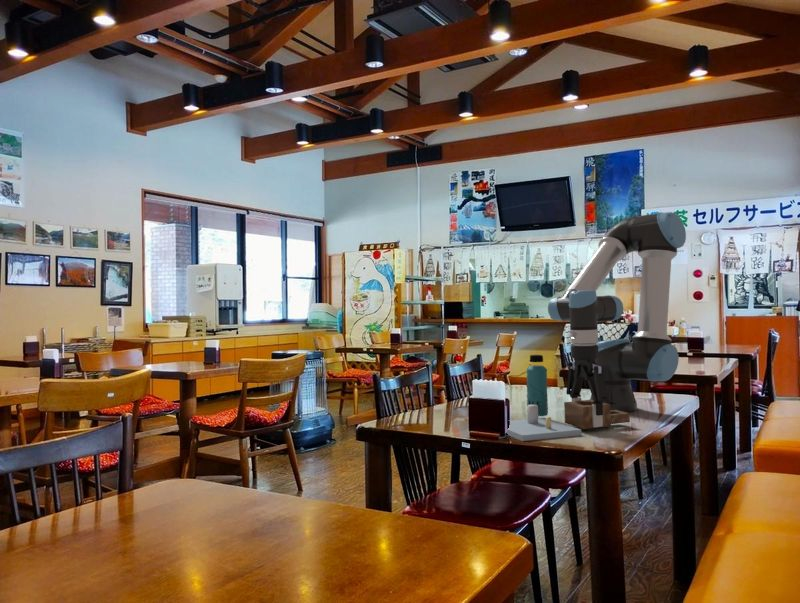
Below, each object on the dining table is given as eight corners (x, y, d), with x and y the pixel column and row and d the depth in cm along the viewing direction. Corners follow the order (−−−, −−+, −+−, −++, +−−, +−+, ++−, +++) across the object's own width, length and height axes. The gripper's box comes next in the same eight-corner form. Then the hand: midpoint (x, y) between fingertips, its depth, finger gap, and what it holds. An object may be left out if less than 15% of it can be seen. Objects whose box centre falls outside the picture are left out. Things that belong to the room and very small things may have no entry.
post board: (544, 422, 184) (543, 401, 184) (581, 435, 166) (580, 411, 166) (490, 427, 179) (489, 405, 179) (522, 441, 161) (521, 416, 161)
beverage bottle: (547, 417, 193) (545, 353, 193) (550, 421, 186) (548, 355, 186) (525, 417, 193) (524, 353, 193) (528, 421, 187) (526, 355, 187)
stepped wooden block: (583, 429, 169) (582, 407, 169) (564, 422, 177) (564, 402, 177) (633, 422, 174) (632, 401, 174) (613, 417, 182) (612, 397, 182)
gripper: (552, 342, 183) (555, 417, 184) (596, 348, 163) (599, 432, 163) (573, 341, 186) (576, 415, 186) (620, 346, 165) (623, 429, 165)
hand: (587, 423), depth 174 cm, fingers closed on stepped wooden block, 9 cm apart
